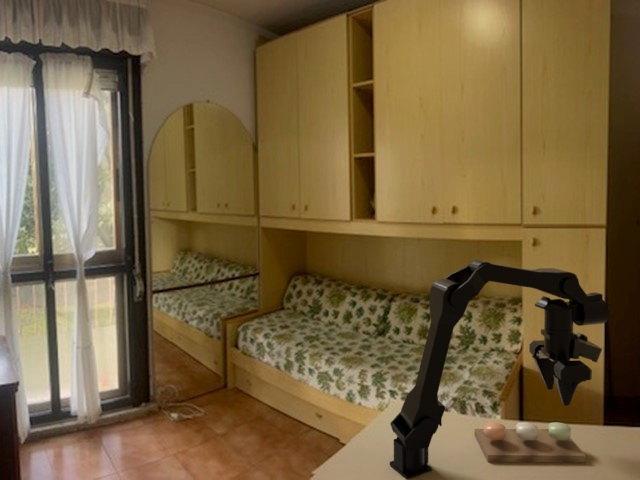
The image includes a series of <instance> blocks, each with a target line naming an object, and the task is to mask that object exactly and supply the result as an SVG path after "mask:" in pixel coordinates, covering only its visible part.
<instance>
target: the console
mask: <svg viewBox="0 0 640 480" xmlns="http://www.w3.org/2000/svg"><path fill="white" fill-rule="evenodd" d="M473 434H474V437H475V439H476V441H477V443H478V445H479V448H480V449H481V452H482V454H483V455H484V457H485V459H486V462H487V463H586V455H585V453H584V452H583V451H582V450H581V448H579V446H578V445H577V444H576V443H575V442H574V441H573V440H572V438H570V439H569V440H557V439H554V438H552V437H550V436H549V428H538V438H537V439H535V440H524V439H521V438H519V437H518V436H517V435H516V428H505V438H504V439H502V440H492V439H489V438H487V437H485V435H484V428H474V433H473Z"/></svg>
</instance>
